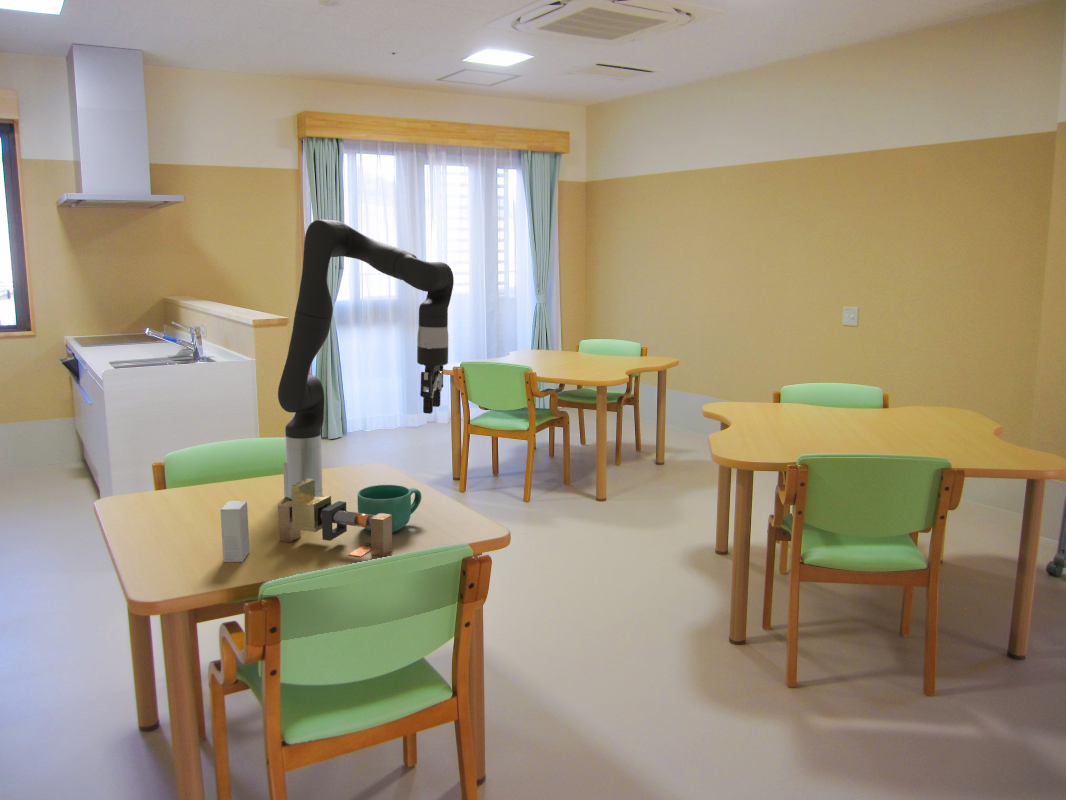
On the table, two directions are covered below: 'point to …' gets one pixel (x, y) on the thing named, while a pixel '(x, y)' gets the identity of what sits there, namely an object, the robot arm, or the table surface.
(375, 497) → the mug
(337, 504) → the dark grey square plate
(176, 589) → the table surface
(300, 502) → the tan notched block
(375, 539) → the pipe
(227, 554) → the skincare box
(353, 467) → the table surface
